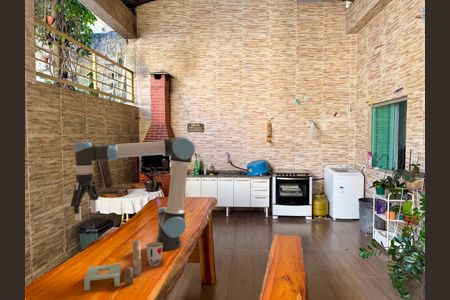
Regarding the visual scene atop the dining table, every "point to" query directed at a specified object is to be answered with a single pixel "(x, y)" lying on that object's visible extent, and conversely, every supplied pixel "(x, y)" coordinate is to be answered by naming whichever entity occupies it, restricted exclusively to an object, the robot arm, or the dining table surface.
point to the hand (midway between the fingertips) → (86, 216)
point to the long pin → (137, 257)
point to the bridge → (103, 274)
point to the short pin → (128, 276)
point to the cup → (154, 253)
